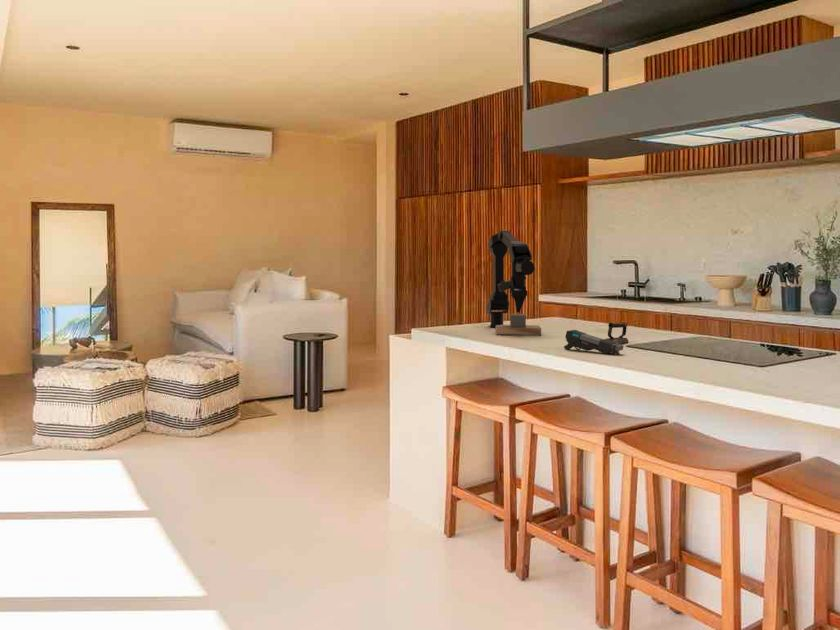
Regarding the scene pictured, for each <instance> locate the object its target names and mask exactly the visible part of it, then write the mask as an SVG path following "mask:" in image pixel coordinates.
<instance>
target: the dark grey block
mask: <svg viewBox="0 0 840 630" xmlns="http://www.w3.org/2000/svg"><path fill="white" fill-rule="evenodd" d="M509 316H510V317H509V318H510V319H509V325H510V327H514V328H526V325H527V324H526V323H527V322H526V321H527V318H526V317H527V316H526V314H525V313H510V315H509Z"/></svg>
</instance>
